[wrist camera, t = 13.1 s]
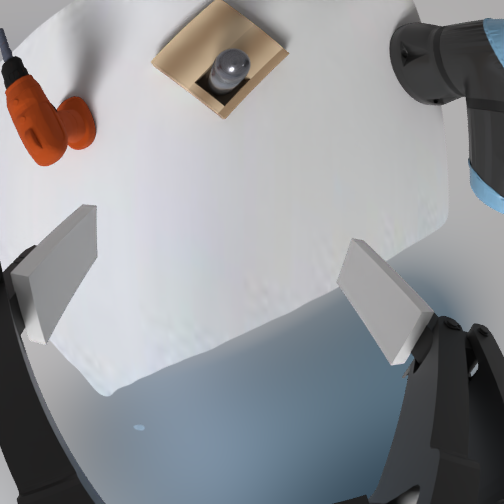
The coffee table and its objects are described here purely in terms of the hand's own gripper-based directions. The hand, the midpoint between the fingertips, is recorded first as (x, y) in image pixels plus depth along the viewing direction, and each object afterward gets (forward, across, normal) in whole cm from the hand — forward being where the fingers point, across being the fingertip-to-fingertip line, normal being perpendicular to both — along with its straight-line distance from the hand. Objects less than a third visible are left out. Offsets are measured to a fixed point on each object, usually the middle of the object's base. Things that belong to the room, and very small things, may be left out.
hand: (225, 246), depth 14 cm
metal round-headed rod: (+26, -1, +10) cm, 28 cm away
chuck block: (+27, -2, +14) cm, 30 cm away
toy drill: (+26, -22, +7) cm, 35 cm away
